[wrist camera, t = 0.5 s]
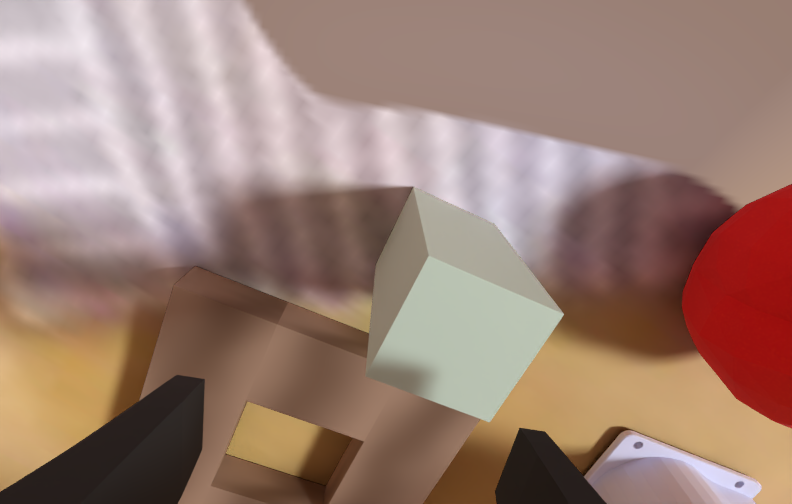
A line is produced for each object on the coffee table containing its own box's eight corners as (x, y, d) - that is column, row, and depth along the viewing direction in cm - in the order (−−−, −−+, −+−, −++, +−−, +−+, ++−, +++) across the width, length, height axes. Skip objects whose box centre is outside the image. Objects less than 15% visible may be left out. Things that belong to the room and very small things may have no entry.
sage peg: (494, 223, 18) (564, 314, 11) (452, 296, 20) (489, 422, 12) (413, 186, 18) (428, 255, 10) (375, 264, 19) (365, 376, 12)
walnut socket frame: (481, 377, 21) (489, 405, 19) (366, 554, 26) (364, 590, 24) (195, 265, 19) (173, 285, 17) (127, 483, 24) (104, 516, 22)
